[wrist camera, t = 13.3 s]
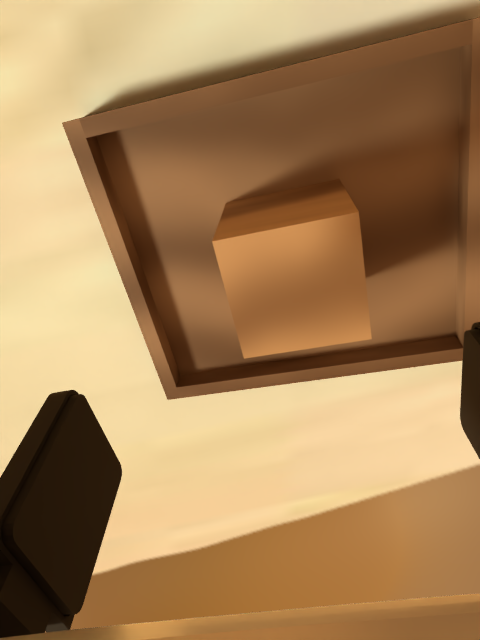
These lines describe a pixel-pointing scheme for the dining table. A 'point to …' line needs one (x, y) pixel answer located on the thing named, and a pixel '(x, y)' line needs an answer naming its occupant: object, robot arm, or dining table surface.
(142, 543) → the dining table surface
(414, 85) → the walnut tray
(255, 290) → the walnut cube
